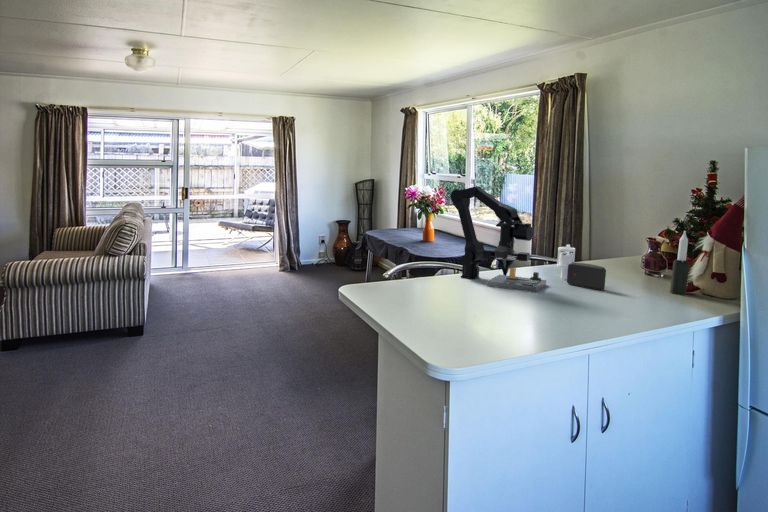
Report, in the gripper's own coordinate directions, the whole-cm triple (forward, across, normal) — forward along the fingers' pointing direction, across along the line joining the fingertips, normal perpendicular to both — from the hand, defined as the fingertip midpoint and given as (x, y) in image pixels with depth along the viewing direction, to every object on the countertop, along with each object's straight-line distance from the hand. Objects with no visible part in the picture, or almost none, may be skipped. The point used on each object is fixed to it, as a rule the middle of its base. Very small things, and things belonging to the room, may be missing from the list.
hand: (505, 275), depth 222 cm
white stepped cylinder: (+4, +19, +25) cm, 32 cm away
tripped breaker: (+1, +3, 0) cm, 3 cm away
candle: (+4, +63, +24) cm, 68 cm away
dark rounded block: (+4, +30, +13) cm, 33 cm away
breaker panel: (+4, +5, 0) cm, 6 cm away
